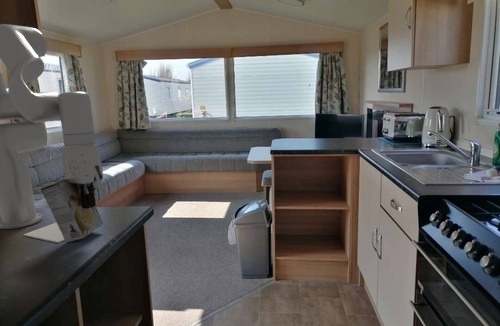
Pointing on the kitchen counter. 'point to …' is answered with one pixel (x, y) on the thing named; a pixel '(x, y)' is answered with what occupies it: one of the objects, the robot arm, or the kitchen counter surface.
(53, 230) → the mat
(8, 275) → the kitchen counter surface
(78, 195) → the coffee box
